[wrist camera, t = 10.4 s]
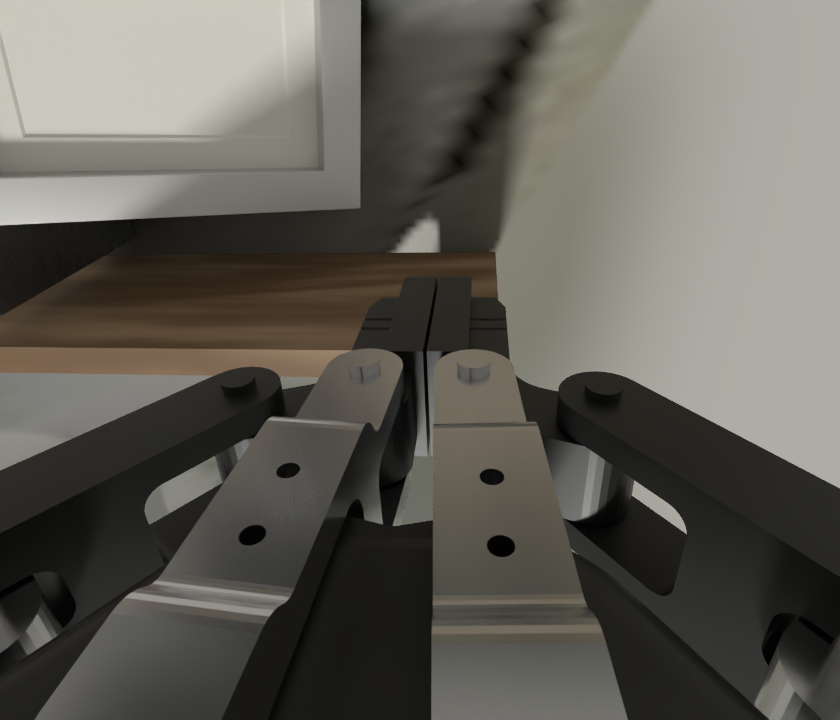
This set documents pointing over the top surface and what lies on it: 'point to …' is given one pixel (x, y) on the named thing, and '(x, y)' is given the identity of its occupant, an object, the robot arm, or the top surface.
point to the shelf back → (216, 311)
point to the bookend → (52, 254)
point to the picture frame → (178, 108)
